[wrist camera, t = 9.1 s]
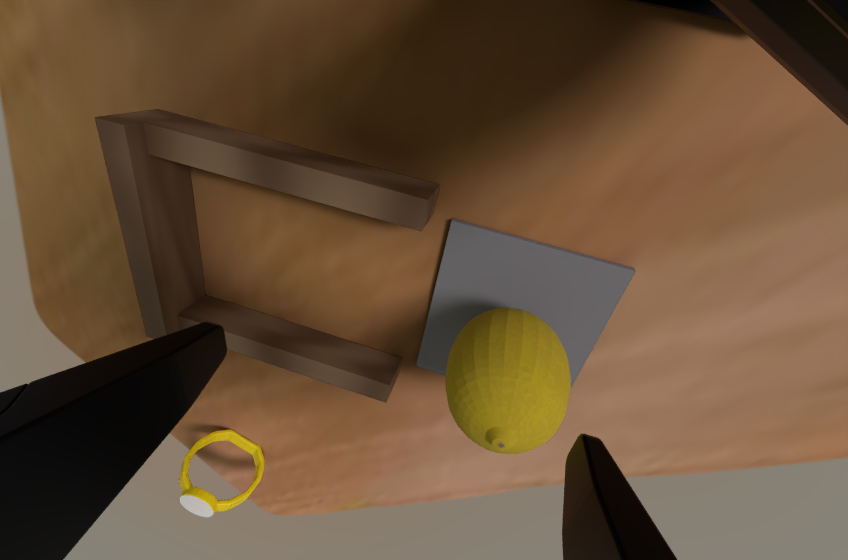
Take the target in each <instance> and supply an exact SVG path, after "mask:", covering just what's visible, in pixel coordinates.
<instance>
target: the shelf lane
mask: <svg viewBox="0 0 848 560" xmlns="http://www.w3.org/2000/svg"><path fill="white" fill-rule="evenodd" d="M95 121H96V125H97V129H98V133H99V138H100V142H101V146H102V150H103V154H104V159H105V163H106V167H107V171H108V175H109V180H110V184H111V188H112V192H113V196H114V201H115V205H116V209H117V213H118V217H119V222H120V226H121V230H122V234H123V238H124V243H125V247H126V251H127V255H128V259H129V264H130V268H131V272H132V276H133V280H134V285H135V289H136V293H137V297H138V301H139V306H140V310H141V314H142V318H143V322H144V327H145V331H146V335H147V336H148V337H151V338H154V339H156V338H159V337H162V336H165V335H168V334H171V333H174V332H176V331H179V330H182V329H185V328H188V327H191V326H194V325H197V324H199V323H202V322H212V323H216V324H219V325H221V326H222V327H223V328H224V332H225V339H226V345H227V350H230V351H233V352H236V353H239V354H242V355H245V356H248V357H251V358H254V359H257V360H260V361H263V362H266V363H269V364H272V365H275V366H278V367H281V368H284V369H287V370H290V371H293V372H296V373H299V374H302V375H305V376H308V377H311V378H314V379H317V380H320V381H323V382H326V383H329V384H332V385H335V386H338V387H341V388H344V389H347V390H350V391H353V392H356V393H359V394H362V395H365V396H368V397H371V398H374V399H377V400H379V401H382V402H385V403H386V402H387V400H388V398H389V395H390V393H391V391H392V388H393V386H394V384H395V381H396V379H397V377H398V374H399V369H400V365H401V360H402V358H401V357H398V356H395V355H391V354H388V353H385V352H382V351H379V350H376V349H373V348H370V347H366V346H363V345H360V344H357V343H354V342H351V341H348V340H345V339H342V338H338V337H335V336H332V335H329V334H326V333H323V332H320V331H317V330H313V329H310V328H307V327H304V326H301V325H298V324H295V323H292V322H288V321H285V320H282V319H279V318H276V317H273V316H270V315H267V314H263V313H260V312H257V311H254V310H251V309H248V308H245V307H242V306H239V305H235V304H232V303H229V302H226V301H223V300H220V299H217V298H214V297H210V296H207V295H206V294H205V286H204V278H203V270H202V262H201V254H200V246H199V238H198V230H197V222H196V214H195V206H194V198H193V190H192V183H191V175H190V167H189V166H191V167H195V168H199V169H202V170H206V171H209V172H213V173H216V174H220V175H223V176H227V177H230V178H234V179H238V180H241V181H245V182H248V183H252V184H255V185H259V186H262V187H266V188H269V189H273V190H276V191H280V192H284V193H287V194H291V195H294V196H298V197H301V198H305V199H308V200H312V201H315V202H319V203H323V204H326V205H330V206H333V207H337V208H340V209H344V210H347V211H351V212H354V213H358V214H362V215H365V216H369V217H372V218H376V219H379V220H383V221H386V222H390V223H393V224H397V225H401V226H404V227H408V228H411V229H415V230H418V231H422V230H423V229H424V227H425V225H426V224H427V222H428V221H429V219H430V218H431V216H432V215H433V213H434V209H435V204H436V200H437V195H438V190H439V186H440V184H436V183H432V182H429V181H425V180H421V179H417V178H414V177H410V176H406V175H402V174H399V173H395V172H391V171H387V170H384V169H380V168H376V167H372V166H369V165H365V164H361V163H357V162H354V161H350V160H346V159H343V158H339V157H335V156H331V155H328V154H324V153H320V152H316V151H313V150H309V149H305V148H301V147H298V146H294V145H290V144H286V143H283V142H279V141H275V140H271V139H268V138H264V137H260V136H256V135H253V134H249V133H245V132H242V131H238V130H234V129H230V128H227V127H223V126H219V125H215V124H212V123H208V122H204V121H200V120H197V119H193V118H189V117H185V116H182V115H178V114H174V113H170V112H167V111H163V110H159V109H155V110H147V111H139V112H132V113H124V114H116V115H108V116H101V117H95Z"/></svg>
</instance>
